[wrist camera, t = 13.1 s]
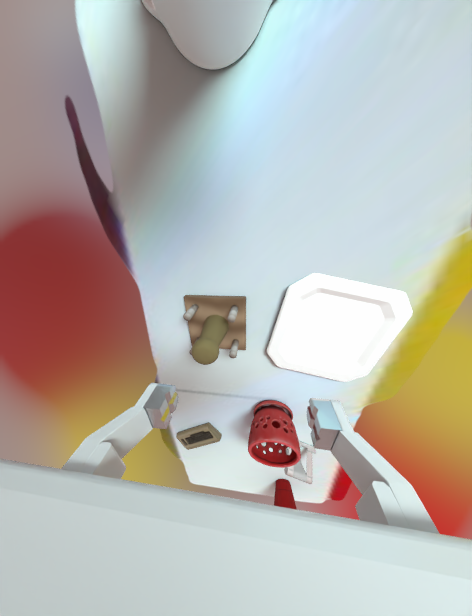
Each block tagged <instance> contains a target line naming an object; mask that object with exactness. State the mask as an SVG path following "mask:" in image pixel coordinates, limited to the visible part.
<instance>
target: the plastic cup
mask: <svg viewBox="0 0 472 616" xmlns="http://www.w3.org/2000/svg"><path fill="white" fill-rule="evenodd" d="M274 506H279V507H285V508H291V509H296V505H295V501H294V497H293V493H292V489H291V485H290V482H289V481H288V480H285V479H278V480H277V481H276V488H275V501H274Z"/></svg>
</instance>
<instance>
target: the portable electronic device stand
mask: <svg viewBox="0 0 472 616" xmlns="http://www.w3.org/2000/svg"><path fill="white" fill-rule="evenodd" d="M299 445H300V448H301V446H302V447H305V448H307V472H306V473H305V470H304V468H303V466H302V463H301V461H299V462H298V463H297V464H295V465H293V466H290V467H285V469H284V471H285V474H286V475H288V476H291V477H293V478H296V479H298V480H301V481H304V482H306V483H309V484H312V453H316V450H315V448H314V447H313V446H311V445H308V444H306V443H304V442H301V441H299ZM286 452H287V455H290V454H291V448H290V447H289V450H288V449H286Z"/></svg>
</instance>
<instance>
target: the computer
mask: <svg viewBox="0 0 472 616" xmlns="http://www.w3.org/2000/svg"><path fill="white" fill-rule="evenodd" d="M221 435H222V434H221V433H220V432H219V431H218V430H216V429H215V428H214V427H213V426H212V425H211V424H210V423H206V424H202V425H199V426H196V427H193V428H190V429H187V430H184V431H181V432H178V433H177V439H178V440H179V441H180V442H181V443H182V445H183V446H184V447H185V448H186V449H188V450H189V449H193V448H197V447H200V446H204V445H208V444H212V443H215V442H218V441H220V439H221Z"/></svg>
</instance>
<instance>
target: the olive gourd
mask: <svg viewBox="0 0 472 616" xmlns="http://www.w3.org/2000/svg"><path fill="white" fill-rule="evenodd" d="M228 329H229V324H228V322H227V320H226V319H225V318H224V317H222V316H220V315H210V316H209V317H207V318H206V320H205V322H204V325H203V329H202V332H201V335H200V338H199V340H197V341H196V342H195V343H194V345H193V347H192V356H193V358H194V359H195V360H196V361H197V362H198V363H200V364H204V365H207V364H211V363H213V362H214V361H215V360H216V359H217V358H218V355H219V346H220V344H221V342H222V341H223V339H224V337H225V335H226V334H227V332H228Z"/></svg>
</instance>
